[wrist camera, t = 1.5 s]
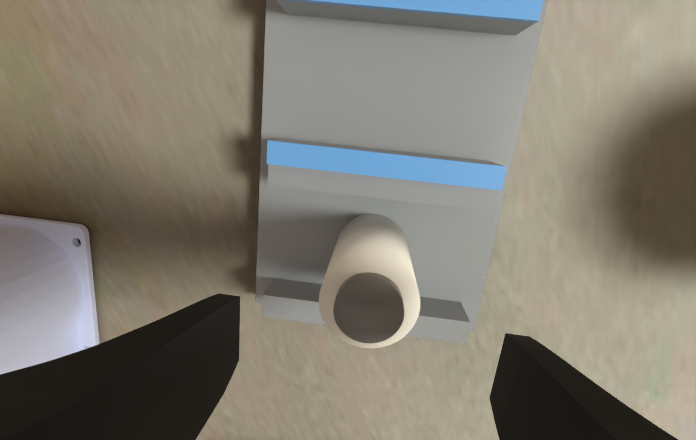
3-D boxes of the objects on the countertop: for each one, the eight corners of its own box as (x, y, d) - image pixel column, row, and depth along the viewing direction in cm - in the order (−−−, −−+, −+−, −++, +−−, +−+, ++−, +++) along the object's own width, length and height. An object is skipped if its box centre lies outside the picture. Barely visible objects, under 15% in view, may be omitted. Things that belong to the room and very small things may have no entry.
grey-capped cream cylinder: (401, 283, 19) (413, 365, 13) (333, 275, 19) (311, 350, 13) (411, 218, 18) (430, 269, 12) (340, 209, 18) (320, 256, 12)
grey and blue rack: (469, 321, 20) (486, 358, 17) (260, 293, 21) (239, 324, 18) (538, 3, 16) (578, -27, 13) (273, -20, 17) (248, -54, 13)
